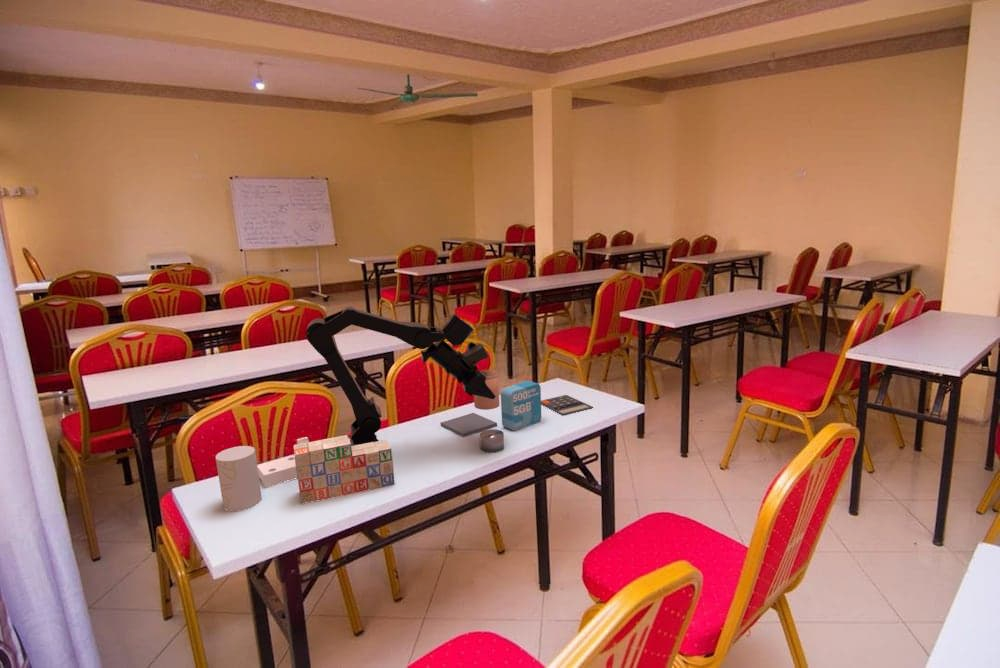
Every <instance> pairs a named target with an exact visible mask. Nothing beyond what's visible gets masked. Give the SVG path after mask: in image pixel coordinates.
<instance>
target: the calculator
mask: <svg viewBox="0 0 1000 668" xmlns="http://www.w3.org/2000/svg"><path fill="white" fill-rule="evenodd" d="M542 405H543V407H544V406H545V408H546V407H547V408H546V409H548V408H549V410H550V409H551V411H552V410H553V411H552V412H554V411H555V413H556V412H557V413H556V414H558V415H560V416H563V417H564V416H568V415H571V414H572V413H573V414H577V413H580V411H581V412H584V410H585V411H588V409H589V410H593V409H594V406H592V405H590V404H587V403H586V402H583V401H582V400H579V399H578V398H575V397H572V396H570V395H567V394H565V395H560V396H556V397H550V398H546V399H541V406H542ZM592 408H593V409H592ZM576 412H577V413H576Z"/></svg>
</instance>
